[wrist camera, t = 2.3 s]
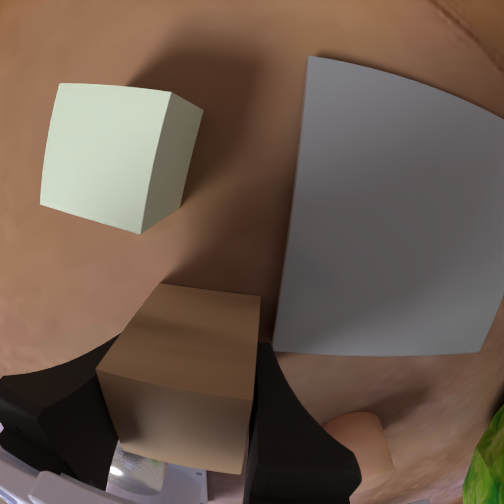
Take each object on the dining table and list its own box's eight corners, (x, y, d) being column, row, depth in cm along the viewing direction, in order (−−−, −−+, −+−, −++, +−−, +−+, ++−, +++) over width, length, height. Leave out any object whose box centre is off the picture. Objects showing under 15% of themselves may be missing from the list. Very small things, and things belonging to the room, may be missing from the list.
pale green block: (180, 207, 12) (140, 234, 8) (98, 186, 12) (39, 204, 8) (204, 110, 10) (171, 92, 7) (116, 97, 10) (59, 83, 7)
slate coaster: (472, 344, 13) (478, 352, 12) (271, 340, 13) (271, 350, 13) (525, 136, 9) (534, 137, 8) (306, 61, 10) (308, 55, 9)
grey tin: (181, 443, 17) (165, 501, 12) (123, 429, 17) (99, 481, 12) (176, 405, 16) (154, 472, 11) (110, 388, 16) (77, 446, 11)
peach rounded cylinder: (367, 445, 16) (378, 490, 12) (312, 447, 16) (317, 496, 13) (389, 409, 15) (406, 459, 11) (328, 411, 15) (337, 467, 11)
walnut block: (251, 373, 14) (240, 474, 9) (164, 360, 14) (123, 450, 9) (260, 296, 13) (252, 400, 7) (159, 282, 13) (95, 368, 7)
